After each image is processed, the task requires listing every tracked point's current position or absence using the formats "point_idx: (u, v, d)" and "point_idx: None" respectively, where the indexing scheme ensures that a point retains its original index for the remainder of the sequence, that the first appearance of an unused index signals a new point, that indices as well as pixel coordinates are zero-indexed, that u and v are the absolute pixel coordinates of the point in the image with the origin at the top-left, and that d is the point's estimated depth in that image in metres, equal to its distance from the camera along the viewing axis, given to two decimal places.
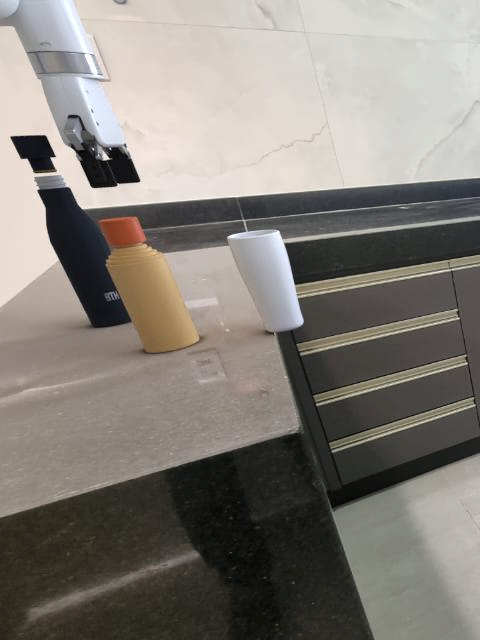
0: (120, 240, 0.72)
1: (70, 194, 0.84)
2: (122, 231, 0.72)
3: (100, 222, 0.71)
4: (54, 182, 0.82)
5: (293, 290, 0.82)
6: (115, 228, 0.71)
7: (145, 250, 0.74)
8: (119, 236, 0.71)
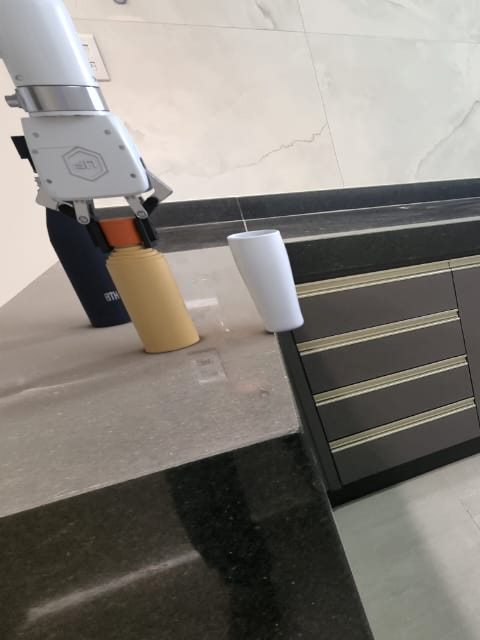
0: (120, 240, 0.72)
1: None
2: (122, 231, 0.72)
3: (100, 222, 0.71)
4: None
5: (293, 290, 0.82)
6: (115, 228, 0.71)
7: (145, 250, 0.74)
8: (119, 236, 0.71)
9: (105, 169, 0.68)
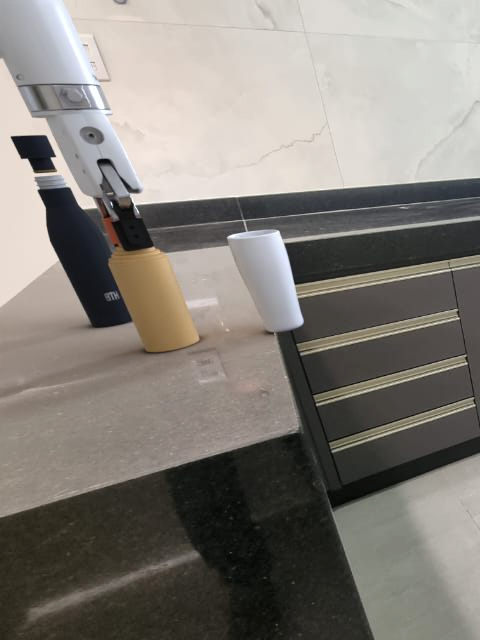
0: None
1: (70, 194, 0.84)
2: None
3: None
4: (54, 182, 0.82)
5: (293, 290, 0.82)
6: None
7: (148, 249, 0.74)
8: None
9: None
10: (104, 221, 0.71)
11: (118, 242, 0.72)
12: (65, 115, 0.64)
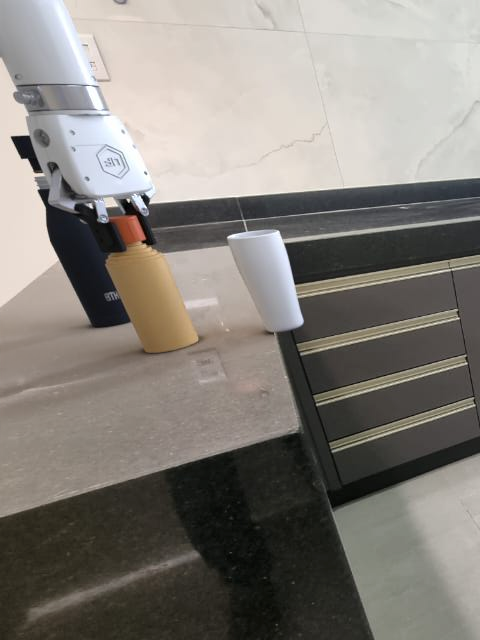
0: None
1: None
2: None
3: None
4: None
5: (293, 290, 0.82)
6: None
7: (145, 250, 0.74)
8: None
9: (127, 167, 0.71)
10: (116, 220, 0.71)
11: (133, 240, 0.73)
12: (26, 117, 0.63)
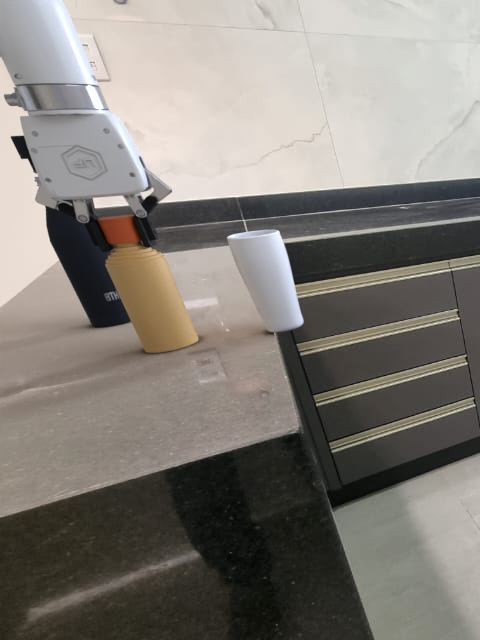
0: None
1: None
2: None
3: (121, 216, 0.74)
4: None
5: (293, 290, 0.82)
6: None
7: (145, 250, 0.74)
8: None
9: (104, 168, 0.68)
10: (132, 218, 0.72)
11: None
12: None
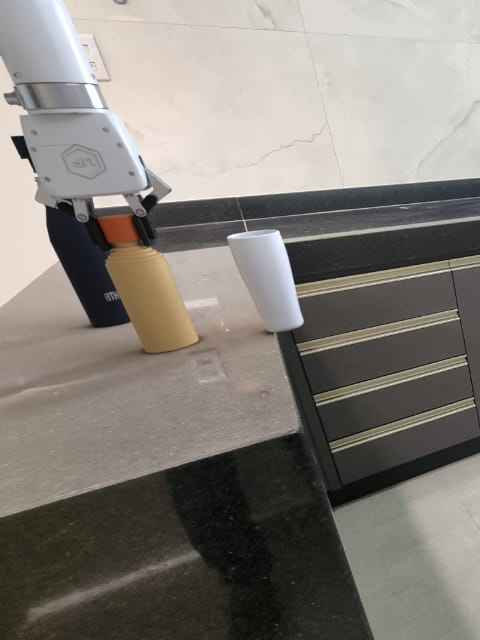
0: (114, 238, 0.71)
1: None
2: (115, 229, 0.71)
3: (97, 219, 0.71)
4: None
5: (293, 290, 0.82)
6: (109, 226, 0.71)
7: (145, 250, 0.74)
8: (113, 234, 0.71)
9: (103, 167, 0.68)
10: None
11: None
12: None
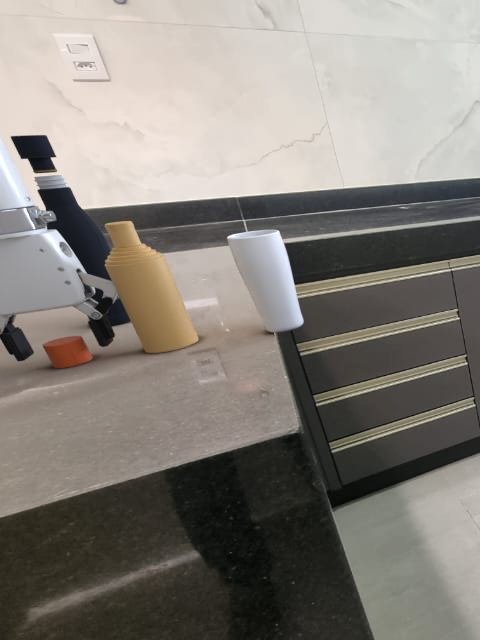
0: None
1: (70, 194, 0.84)
2: None
3: None
4: (54, 182, 0.82)
5: (293, 290, 0.82)
6: None
7: (144, 250, 0.74)
8: None
9: None
10: (57, 347, 0.72)
11: (76, 363, 0.74)
12: (45, 233, 0.68)
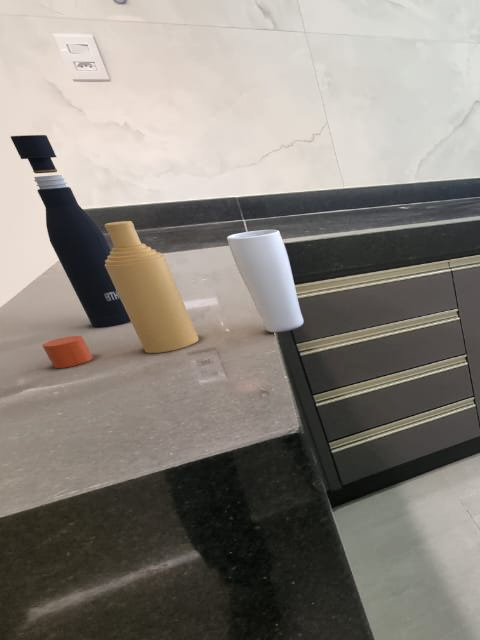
0: None
1: (70, 194, 0.84)
2: None
3: None
4: (54, 182, 0.82)
5: (293, 290, 0.82)
6: None
7: (144, 250, 0.74)
8: None
9: None
10: (57, 347, 0.72)
11: (76, 363, 0.74)
12: None
